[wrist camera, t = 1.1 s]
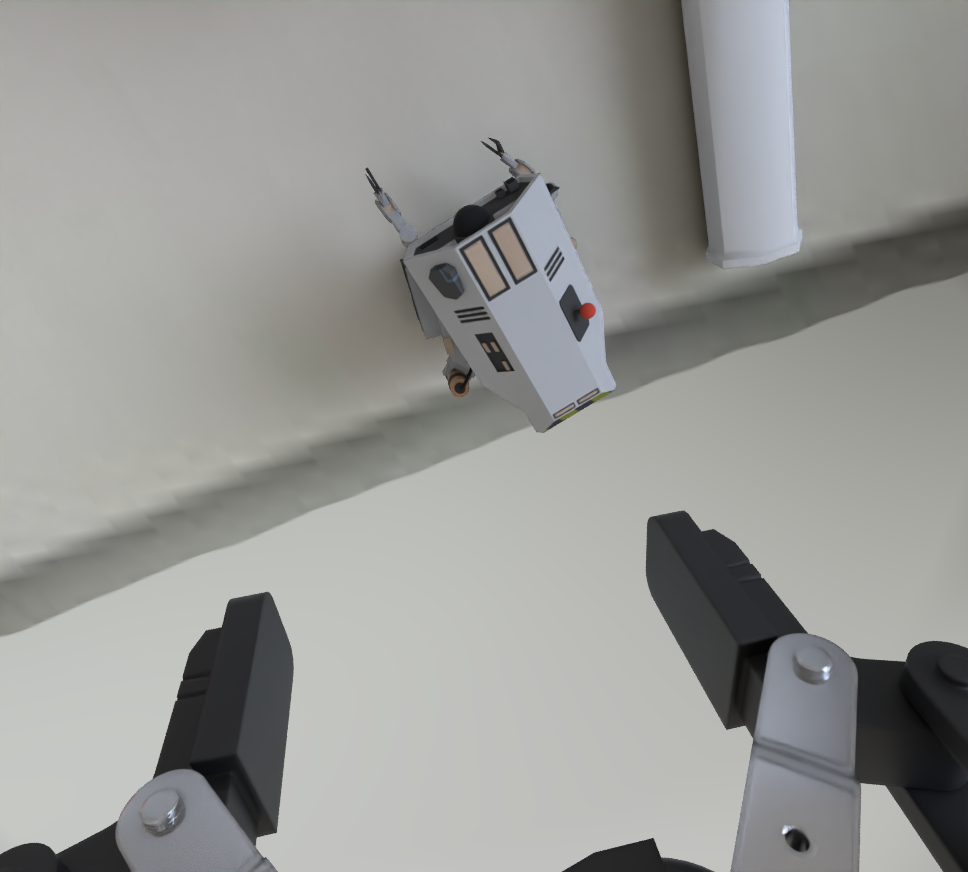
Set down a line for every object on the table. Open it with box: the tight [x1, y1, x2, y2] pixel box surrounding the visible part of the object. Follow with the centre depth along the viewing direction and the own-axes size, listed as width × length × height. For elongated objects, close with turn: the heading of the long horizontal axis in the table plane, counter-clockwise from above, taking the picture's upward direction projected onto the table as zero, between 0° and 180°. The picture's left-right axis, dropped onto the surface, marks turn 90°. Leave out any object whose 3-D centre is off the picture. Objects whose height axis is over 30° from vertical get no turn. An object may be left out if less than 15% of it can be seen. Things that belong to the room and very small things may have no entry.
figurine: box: [366, 138, 616, 433], centre depth 31 cm, size 9×12×15 cm
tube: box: [681, 0, 802, 269], centre depth 31 cm, size 5×5×25 cm
